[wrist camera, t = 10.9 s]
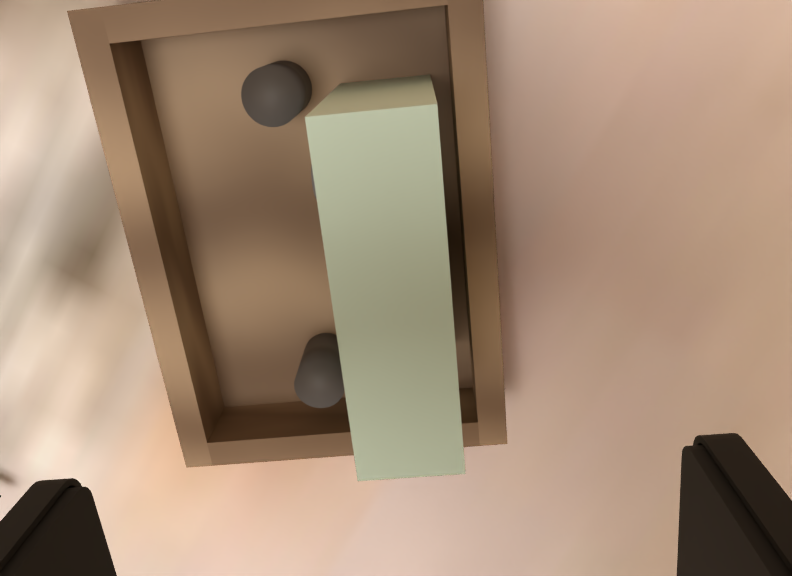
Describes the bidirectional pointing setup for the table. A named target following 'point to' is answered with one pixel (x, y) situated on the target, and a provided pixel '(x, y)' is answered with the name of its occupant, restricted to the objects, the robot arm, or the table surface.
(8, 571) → the robot arm
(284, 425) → the brown wooden shallow tray
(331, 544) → the table surface
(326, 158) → the light green rectangular block
